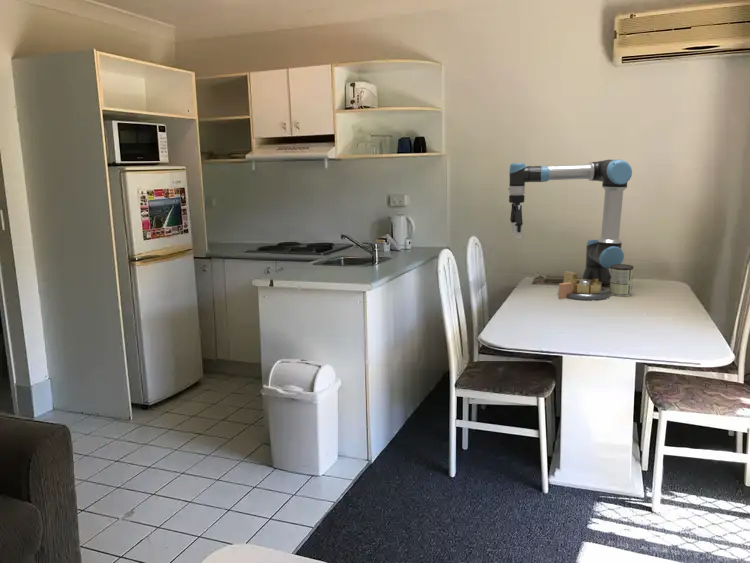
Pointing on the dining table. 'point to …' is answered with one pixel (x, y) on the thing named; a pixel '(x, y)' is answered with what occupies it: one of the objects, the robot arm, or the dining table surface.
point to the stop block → (564, 290)
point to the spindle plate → (596, 296)
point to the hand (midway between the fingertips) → (515, 236)
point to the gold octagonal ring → (580, 288)
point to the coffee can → (621, 280)
